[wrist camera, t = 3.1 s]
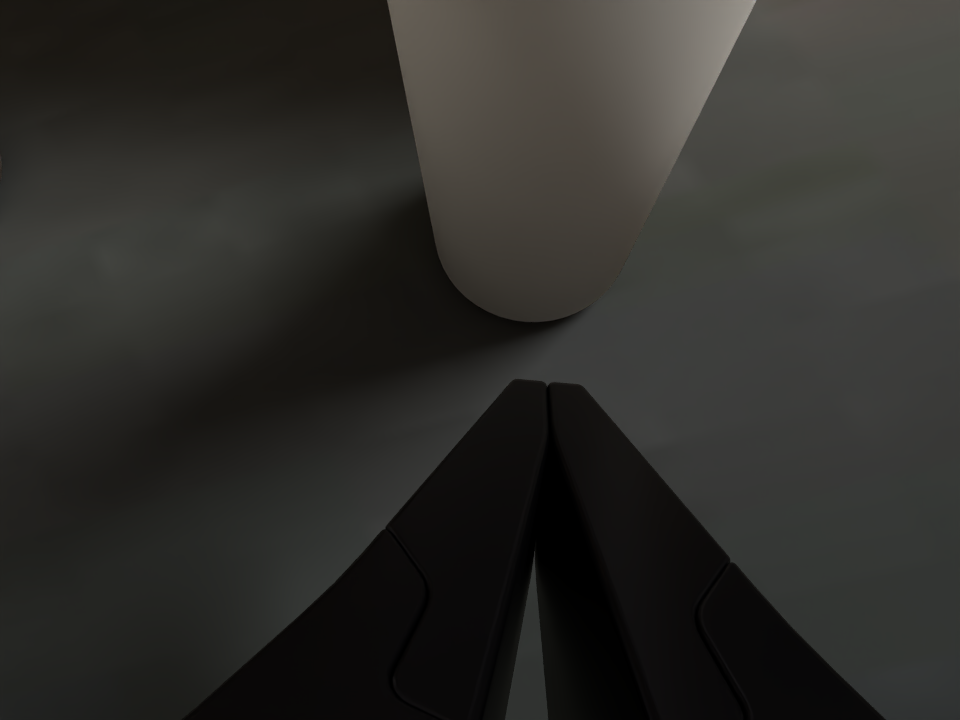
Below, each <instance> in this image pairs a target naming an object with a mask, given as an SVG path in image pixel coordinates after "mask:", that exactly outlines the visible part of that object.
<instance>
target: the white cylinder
mask: <svg viewBox="0 0 960 720" xmlns="http://www.w3.org/2000/svg"><path fill="white" fill-rule="evenodd" d="M387 2H388V7H389V12H390V17H391V22H392V27H393V33H394V38H395V43H396V48H397V53H398V58H399V63H400V68H401V73H402V78H403V83H404V88H405V93H406V98H407V103H408V108H409V113H410V118H411V123H412V128H413V134H414V139H415V144H416V149H417V154H418V159H419V164H420V169H421V174H422V179H423V184H424V189H425V194H426V199H427V204H428V209H429V214H430V219H431V224H432V229H433V235H434V240H435V245H436V249H437V253H438V257H439V259H440V262H441V264H442V266H443V269H444V270H445V272H446V274H447V276H448V277H449V279H450V280H451V282H452V283H453V284H454V285H455V287H456V288H457V289H458V290H459V291H460V292H461V293H462V294H463V295H464V296H465V297H466V298H467V299H469V300H470V301H471V302H473V303H474V304H475V305H477V306H478V307H480V308H482V309H484V310H485V311H487V312H489V313H492V314H494V315H497V316H499V317H503V318H506V319H510V320H515V321H522V322H544V321H552V320H556V319H560V318H564V317H567V316H570V315H572V314H575V313H577V312H579V311H581V310H583V309H585V308H586V307H588V306H590V305H591V304H592V303H594V302H595V301H596V300H598V299H599V298H600V297H601V296H602V295H603V294H604V293H605V292H606V291H607V290H608V289H609V288H610V287H611V285H612V284H613V283H614V282H615V280H616V278H617V277H618V275H619V273H620V272H621V270H622V268H623V266H624V264H625V262H626V260H627V258H628V256H629V254H630V252H631V250H632V248H633V246H634V244H635V242H636V240H637V238H638V236H639V234H640V232H641V230H642V228H643V226H644V224H645V222H646V220H647V218H648V216H649V214H650V212H651V210H652V208H653V206H654V204H655V202H656V200H657V198H658V196H659V194H660V192H661V190H662V188H663V186H664V184H665V182H666V180H667V178H668V176H669V174H670V172H671V170H672V168H673V166H674V164H675V162H676V160H677V158H678V156H679V154H680V152H681V150H682V148H683V146H684V144H685V142H686V140H687V138H688V136H689V134H690V132H691V130H692V128H693V126H694V124H695V122H696V120H697V118H698V116H699V114H700V112H701V110H702V108H703V106H704V104H705V102H706V100H707V98H708V96H709V94H710V92H711V90H712V88H713V86H714V84H715V82H716V80H717V78H718V76H719V74H720V72H721V70H722V68H723V66H724V64H725V62H726V60H727V58H728V56H729V54H730V52H731V50H732V48H733V46H734V44H735V42H736V40H737V38H738V36H739V34H740V32H741V30H742V28H743V26H744V24H745V22H746V20H747V18H748V16H749V14H750V12H751V10H752V8H753V6H754V4H755V2H756V0H387Z"/></svg>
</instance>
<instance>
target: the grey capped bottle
mask: <svg viewBox="0 0 960 720" xmlns="http://www.w3.org/2000/svg"><path fill="white" fill-rule="evenodd" d="M1 177H2V160H1V153H0V182H1Z"/></svg>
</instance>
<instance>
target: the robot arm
mask: <svg viewBox="0 0 960 720" xmlns="http://www.w3.org/2000/svg"><path fill="white" fill-rule="evenodd" d="M534 551H535V570H536V584H537V596H538V607H539V618H540V630H541V641H542V652H543V664H544V675H545V686H546V698H547V709H548V720H886V719H885V718H884V717H883V716H882V715H880V714H879V713H878V712H877V711H876V710H875V709H874V708H873V707H872V706H871V705H870V704H869V703H868V702H867V701H866V700H865V699H864V698H863V697H862V696H861V695H860V694H859V693H858V692H857V691H856V690H855V689H853V688H852V687H851V686H850V685H849V684H848V683H847V682H846V681H845V680H844V679H843V678H842V677H841V676H840V675H839V674H838V673H837V672H836V671H835V670H834V669H833V668H832V667H831V666H830V665H829V664H828V663H827V662H826V661H825V660H824V659H823V658H822V657H821V656H820V655H819V654H818V653H817V652H816V651H815V650H814V649H813V648H812V647H811V646H810V645H809V644H808V643H807V642H806V641H805V640H804V639H803V638H802V637H801V636H800V635H799V634H798V633H797V632H796V631H795V630H794V629H793V628H792V627H791V626H790V625H789V624H788V623H787V621H786V620H785V619H784V618H783V617H782V616H781V615H780V614H779V613H778V611H777V610H776V609H775V608H774V607H773V606H772V605H771V604H770V603H769V602H768V600H767V599H766V598H765V597H764V596H763V595H762V594H761V593H760V592H759V590H758V589H757V588H756V587H755V586H754V585H753V584H752V582H751V581H750V580H749V579H748V578H747V577H746V575H745V574H744V573H743V572H742V571H741V570H740V568H739V567H738V566H737V565H736V564H735V563H733V562H731V563H730V557H729V556H728V555H727V554H726V553H725V551H724V550H723V549H722V548H721V547H720V546H719V544H718V543H717V542H716V541H715V540H714V539H713V537H712V536H711V535H710V534H709V533H708V532H707V530H706V529H705V528H704V527H703V526H702V525H701V523H700V522H699V521H698V520H697V519H696V518H695V516H694V515H693V514H692V513H691V512H690V511H689V509H688V508H687V507H686V506H685V505H684V504H683V502H682V501H681V500H680V499H679V498H678V497H677V495H676V494H675V493H674V492H673V491H672V490H671V488H670V487H669V486H668V485H667V484H666V483H665V481H664V480H663V479H662V478H661V477H660V476H659V474H658V473H657V472H656V471H655V470H654V469H653V467H652V466H651V465H650V464H649V463H648V462H647V460H646V459H645V458H644V457H643V456H642V455H641V453H640V452H639V451H638V450H637V449H636V448H635V446H634V445H633V444H632V443H631V442H630V441H629V439H628V438H627V437H626V436H625V435H624V434H623V432H622V431H621V430H620V429H619V428H618V427H617V425H616V424H615V423H614V422H613V421H612V420H611V418H610V417H609V416H608V415H607V414H606V412H605V411H604V410H603V409H602V408H601V407H600V405H599V404H598V403H597V402H596V401H595V400H594V398H593V397H592V396H591V395H590V394H589V393H588V391H587V390H586V389H585V388H584V387H583V386H581V385H579V384H569V383H557V382H553V383H550V384H549V385H548V387H547V385H546V384H545V383H544V382H542V381H534V380H523V379H515V380H512V381H511V382H510V383H509V385H508V386H507V387H506V388H505V389H504V390H503V392H502V393H501V394H500V395H499V396H498V397H497V398H496V400H495V401H494V402H493V403H492V404H491V405H490V407H489V408H488V409H487V410H486V411H485V412H484V413H483V415H482V416H481V417H480V418H479V419H478V420H477V422H476V423H475V424H474V425H473V426H472V427H471V428H470V430H469V431H468V432H467V433H466V434H465V435H464V437H463V438H462V439H461V440H460V441H459V442H458V443H457V445H456V446H455V447H454V448H453V449H452V450H451V452H450V453H449V454H448V455H447V456H446V457H445V458H444V460H443V461H442V462H441V463H440V464H439V465H438V467H437V468H436V469H435V470H434V471H433V472H432V473H431V475H430V476H429V477H428V478H427V479H426V480H425V482H424V483H423V484H422V485H421V486H420V487H419V488H418V490H417V491H416V492H415V493H414V494H413V495H412V497H411V498H410V499H409V500H408V501H407V502H406V503H405V505H404V506H403V507H402V508H401V509H400V510H399V512H398V513H397V514H396V515H395V516H394V517H393V518H392V520H391V521H390V522H389V523H388V524H387V525H386V529H384V530H382V531H381V532H380V533H379V534H378V535H377V536H376V538H375V539H374V540H373V541H372V542H371V543H370V545H369V546H368V547H367V548H366V549H365V550H364V552H363V553H362V554H361V555H360V556H359V557H358V558H357V559H356V560H355V561H354V562H353V563H352V564H351V566H350V567H349V568H348V569H347V570H346V571H345V572H344V573H343V574H342V575H341V576H340V577H339V578H338V579H337V580H336V582H335V583H334V584H333V585H332V586H330V587H329V588H328V589H327V590H326V591H325V592H324V593H323V594H322V595H321V596H320V597H319V598H318V599H317V600H315V601H314V602H313V603H312V604H311V605H310V606H309V607H308V608H307V609H306V610H305V611H304V612H303V613H302V614H301V615H299V616H298V617H297V618H296V619H295V620H294V621H293V622H292V623H291V624H289V625H288V626H287V627H286V628H285V629H284V630H283V631H282V632H280V633H279V634H278V635H277V636H276V637H275V638H274V639H273V640H271V641H270V642H269V643H268V644H267V645H266V646H265V647H264V648H262V649H261V650H260V651H259V652H258V653H257V654H256V655H255V656H253V657H252V658H251V659H250V660H249V661H248V662H247V663H246V664H244V665H243V666H242V667H241V668H240V669H239V670H238V671H237V672H235V673H234V674H233V675H232V676H231V677H230V678H229V679H228V680H226V681H225V682H224V683H223V684H222V685H221V686H220V687H219V688H217V689H216V690H215V691H214V692H213V693H212V694H211V695H210V696H208V697H207V698H206V699H205V700H204V701H203V702H202V703H201V704H199V705H198V706H197V707H196V708H195V709H194V710H193V711H191V712H190V713H189V714H188V715H186V716H185V717H184V718H183V719H182V720H505V715H506V710H507V704H508V699H509V693H510V688H511V682H512V677H513V671H514V666H515V661H516V655H517V650H518V644H519V639H520V633H521V628H522V622H523V617H524V611H525V606H526V600H527V595H528V589H529V584H530V579H531V572H532V565H533V558H534Z"/></svg>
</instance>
